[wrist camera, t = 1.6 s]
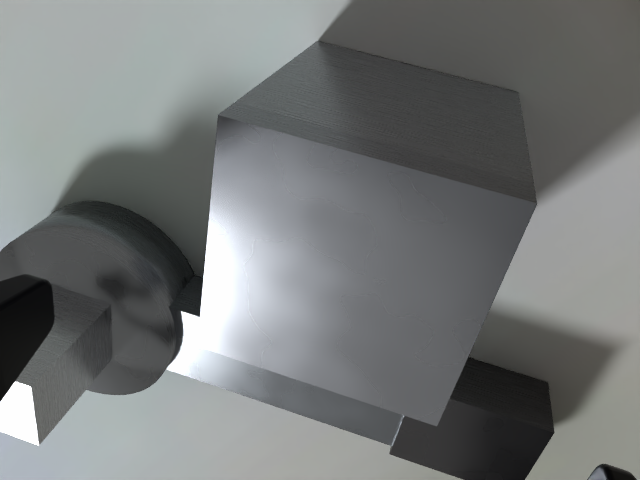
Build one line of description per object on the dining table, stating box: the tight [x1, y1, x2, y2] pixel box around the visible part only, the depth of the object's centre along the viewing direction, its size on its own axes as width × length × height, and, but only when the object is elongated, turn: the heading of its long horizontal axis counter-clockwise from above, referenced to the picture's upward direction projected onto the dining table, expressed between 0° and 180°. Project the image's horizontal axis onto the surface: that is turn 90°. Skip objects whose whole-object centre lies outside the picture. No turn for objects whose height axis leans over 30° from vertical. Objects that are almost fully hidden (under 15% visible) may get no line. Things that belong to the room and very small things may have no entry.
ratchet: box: [0, 201, 554, 480], centre depth 19 cm, size 20×7×6 cm, turn 79°
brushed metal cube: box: [197, 41, 537, 426], centre depth 14 cm, size 6×6×7 cm
